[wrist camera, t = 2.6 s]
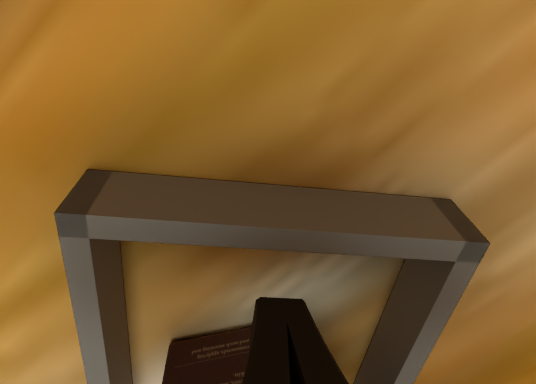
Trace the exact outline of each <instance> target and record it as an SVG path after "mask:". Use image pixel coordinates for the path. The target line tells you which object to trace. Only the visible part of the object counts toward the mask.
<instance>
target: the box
mask: <svg viewBox="0 0 536 384" xmlns="http://www.w3.org/2000/svg"><path fill="white" fill-rule="evenodd" d="M251 328H252V327H249V328H244V329H239V330H234V331H228V332H223V333H219V334H214V335H209V336H204V337H199V338H195V339H189V340H184V341H179V342H172V343H170V345H169V349H168V355H167V359H166V365H165V371H164V376H163V381H162V384H242V381H243V377H244V374H245V371H246V367H247V363H248V359H249V341H250V335H251Z"/></svg>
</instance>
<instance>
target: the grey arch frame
mask: <svg viewBox="0 0 536 384" xmlns="http://www.w3.org/2000/svg"><path fill="white" fill-rule="evenodd" d="M54 215H55V220H56V225H57V230H58V235H59V240H60V246H61V251H62V256H63V261H64V266H65V271H66V276H67V282H68V287H69V292H70V297H71V302H72V307H73V312H74V318H75V323H76V328H77V333H78V338H79V343H80V348H81V354H82V359H83V364H84V369H85V374H86V379H87V384H133V383H132V372H131V361H130V350H129V339H128V328H127V317H126V306H125V295H124V284H123V273H122V262H121V251H120V240H121V241H137V242H152V243H168V244H184V245H200V246H216V247H232V248H248V249H263V250H279V251H295V252H311V253H327V254H343V255H358V256H374V257H390V258H405V261H404V263H403V266H402V268H401V270H400V273H399V275H398V278H397V280H396V283H395V285H394V287H393V290H392V292H391V295H390V297H389V300H388V302H387V304H386V307H385V309H384V312H383V314H382V316H381V319H380V321H379V324H378V326H377V329H376V331H375V333H374V336H373V338H372V341H371V343H370V346H369V348H368V350H367V353H366V355H365V358H364V360H363V363H362V365H361V367H360V370H359V372H358V375H357V377H356V379H355V382H354V384H413V383H414V382H415V380H416V378H417V376H418V374H419V372H420V371H421V369H422V367H423V365H424V363H425V362H426V360H427V358H428V356H429V354H430V352H431V351H432V349H433V347H434V345H435V343H436V341H437V340H438V338H439V336H440V334H441V332H442V331H443V329H444V327H445V325H446V323H447V321H448V320H449V318H450V316H451V314H452V312H453V311H454V309H455V307H456V305H457V303H458V301H459V300H460V298H461V296H462V294H463V292H464V290H465V289H466V287H467V285H468V283H469V281H470V280H471V278H472V276H473V274H474V272H475V270H476V269H477V267H478V265H479V263H480V261H481V259H482V258H483V256H484V254H485V252H486V250H487V249H488V247H489V245H490V242H489V241H488V240H487V239H486V238H485V237H484V236H483V235H482V233H481V232H480V231H479V230H478V229H477V228H476V227H475V226H474V225H473V223H472V222H471V221H470V220H469V219H468V218H467V217H466V216H465V214H464V213H463V212H462V211H461V210H460V209H459V208H458V207H457V206H456V204H455V203H454V202H453V201H452V200H449V199H437V198H425V197H413V196H402V195H390V194H378V193H366V192H354V191H342V190H330V189H318V188H306V187H294V186H282V185H270V184H258V183H246V182H234V181H223V180H211V179H199V178H187V177H175V176H163V175H151V174H139V173H127V172H115V171H103V170H91V169H87V170H86V172H85V173H84V174H83V176H82V177H81V178H80V180H79V181H78V182H77V183H76V185H75V186H74V187H73V189H72V190H71V191H70V193H69V194H68V195H67V197H66V198H65V199H64V200H63V202H62V203H61V204H60V206H59V207H58V208H57V210H56V211H55V212H54Z"/></svg>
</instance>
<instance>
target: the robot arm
mask: <svg viewBox="0 0 536 384" xmlns="http://www.w3.org/2000/svg"><path fill="white" fill-rule="evenodd" d="M242 384H349V383H348V382H347V380H346V379H345V377H344V375H343V374H342V372H341V370H340V369H339V367H338V365H337V363H336V362H335V360H334V358H333V356H332V355H331V353H330V351H329V349H328V348H327V346H326V344H325V342H324V340H323V338H322V336H321V334H320V332H319V330H318V329H317V327H316V325H315V322H314V320H313V318H312V316H311V314H310V312H309V310H308V308H307V305H306V303H305V302H304V300H303V299H289V298H267V297H260V298H258V299H257V300H256V303H255V310H254V316H253V322H252V328H251V335H250V341H249V359H248V363H247V367H246V371H245V374H244V377H243V381H242Z"/></svg>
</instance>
